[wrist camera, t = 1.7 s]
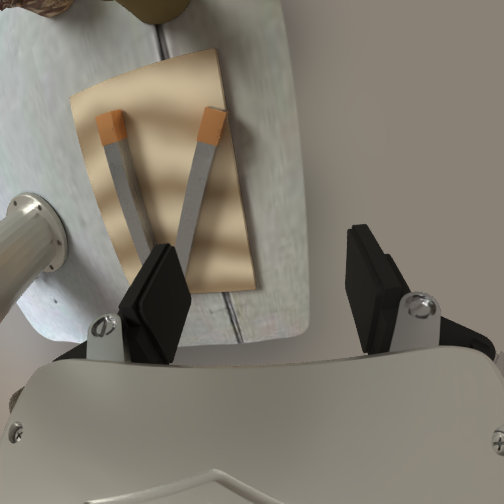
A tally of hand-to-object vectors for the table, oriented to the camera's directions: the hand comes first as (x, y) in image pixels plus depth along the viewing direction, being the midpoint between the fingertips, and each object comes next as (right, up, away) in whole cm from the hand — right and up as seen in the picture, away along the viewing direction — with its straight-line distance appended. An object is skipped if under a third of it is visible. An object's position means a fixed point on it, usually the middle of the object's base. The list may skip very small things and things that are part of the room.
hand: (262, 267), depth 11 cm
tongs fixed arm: (-13, +7, +16) cm, 21 cm away
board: (-10, +7, +17) cm, 21 cm away
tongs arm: (-7, +5, +16) cm, 19 cm away
